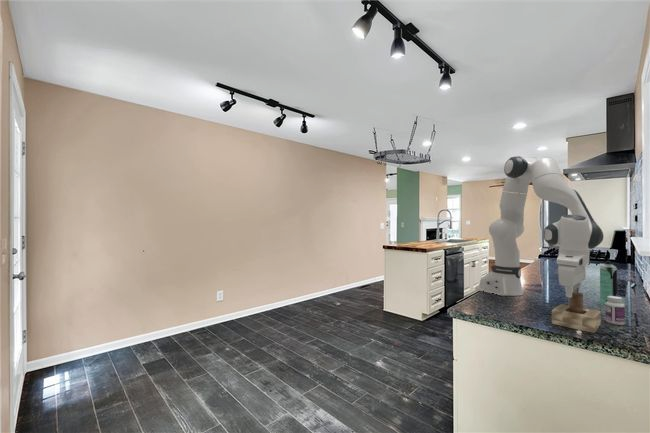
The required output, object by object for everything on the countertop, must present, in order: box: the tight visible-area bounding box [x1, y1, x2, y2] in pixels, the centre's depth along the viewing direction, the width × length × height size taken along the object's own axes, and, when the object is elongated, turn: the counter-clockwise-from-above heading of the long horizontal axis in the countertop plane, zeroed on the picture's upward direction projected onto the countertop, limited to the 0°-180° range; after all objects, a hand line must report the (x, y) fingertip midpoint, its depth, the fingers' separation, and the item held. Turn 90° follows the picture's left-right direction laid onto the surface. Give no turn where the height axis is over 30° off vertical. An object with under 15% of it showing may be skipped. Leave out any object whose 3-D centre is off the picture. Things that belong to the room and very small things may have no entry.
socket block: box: [551, 303, 602, 334], centre depth 111 cm, size 12×12×5 cm
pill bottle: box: [604, 296, 626, 326], centre depth 112 cm, size 5×5×10 cm
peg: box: [568, 291, 584, 314], centre depth 111 cm, size 4×4×10 cm
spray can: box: [599, 260, 618, 307], centre depth 133 cm, size 6×6×20 cm
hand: (572, 294), depth 111 cm, fingers open, 8 cm apart
